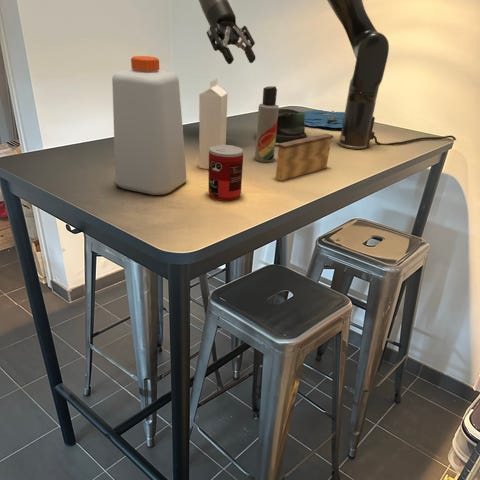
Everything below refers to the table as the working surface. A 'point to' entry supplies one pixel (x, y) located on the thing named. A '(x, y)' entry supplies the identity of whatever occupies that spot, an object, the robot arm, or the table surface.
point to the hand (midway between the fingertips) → (242, 61)
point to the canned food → (225, 172)
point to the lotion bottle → (267, 126)
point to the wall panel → (302, 156)
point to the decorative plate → (324, 118)
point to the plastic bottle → (148, 128)
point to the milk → (211, 121)
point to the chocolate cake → (290, 126)
